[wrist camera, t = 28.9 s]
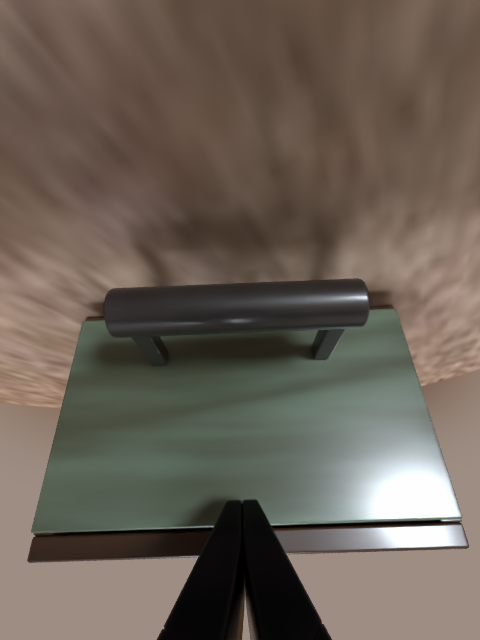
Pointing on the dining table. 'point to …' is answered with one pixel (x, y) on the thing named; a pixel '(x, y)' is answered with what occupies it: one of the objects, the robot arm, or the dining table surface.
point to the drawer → (242, 412)
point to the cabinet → (290, 536)
